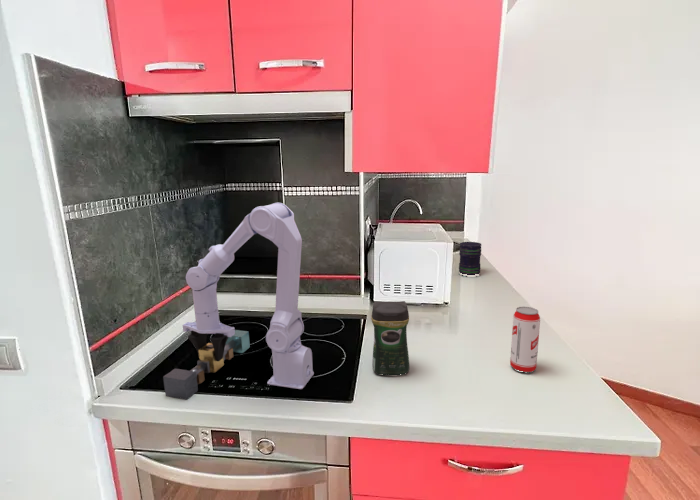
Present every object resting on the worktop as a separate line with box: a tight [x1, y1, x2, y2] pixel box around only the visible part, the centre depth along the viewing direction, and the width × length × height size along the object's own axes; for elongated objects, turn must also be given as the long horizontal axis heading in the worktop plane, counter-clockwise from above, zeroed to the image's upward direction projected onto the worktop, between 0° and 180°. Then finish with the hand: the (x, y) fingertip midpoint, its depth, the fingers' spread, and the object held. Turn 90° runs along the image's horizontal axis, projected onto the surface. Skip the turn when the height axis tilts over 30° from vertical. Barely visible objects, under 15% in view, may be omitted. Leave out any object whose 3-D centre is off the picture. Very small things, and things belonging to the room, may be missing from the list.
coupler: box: [198, 342, 225, 374], centre depth 106 cm, size 4×4×6 cm
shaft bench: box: [162, 329, 251, 401], centre depth 106 cm, size 6×28×5 cm, turn 163°
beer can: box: [509, 306, 541, 373], centre depth 102 cm, size 6×6×16 cm
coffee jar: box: [370, 300, 410, 376], centre depth 102 cm, size 10×8×19 cm
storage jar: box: [458, 241, 482, 275], centre depth 188 cm, size 10×10×15 cm
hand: (211, 358), depth 106 cm, fingers open, 4 cm apart
